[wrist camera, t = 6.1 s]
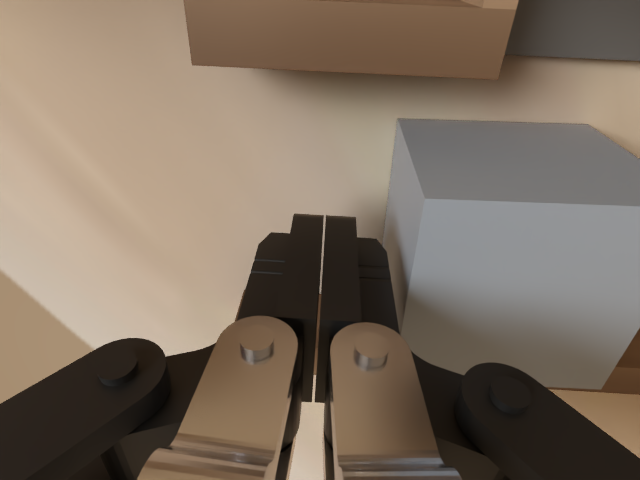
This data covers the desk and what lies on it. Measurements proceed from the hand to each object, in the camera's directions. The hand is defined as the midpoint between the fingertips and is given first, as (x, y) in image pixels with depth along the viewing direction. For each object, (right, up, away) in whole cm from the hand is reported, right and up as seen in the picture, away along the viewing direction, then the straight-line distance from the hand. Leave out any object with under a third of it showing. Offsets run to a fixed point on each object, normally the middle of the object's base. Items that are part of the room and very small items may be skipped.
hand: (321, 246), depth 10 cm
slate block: (+4, +1, +2) cm, 5 cm away
